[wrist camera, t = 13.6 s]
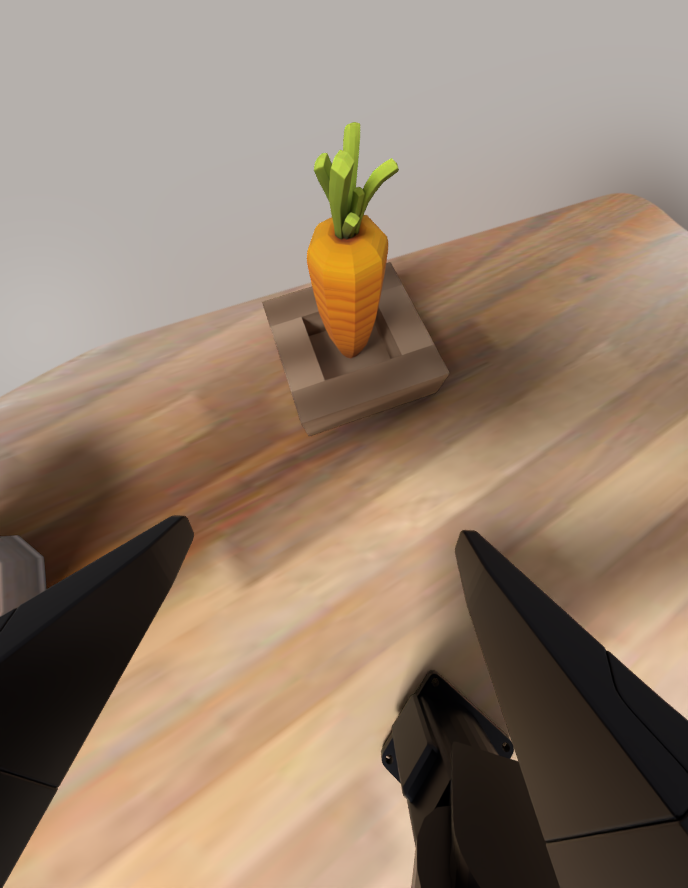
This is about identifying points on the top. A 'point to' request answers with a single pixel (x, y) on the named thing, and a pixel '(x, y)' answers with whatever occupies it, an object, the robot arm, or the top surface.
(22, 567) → the can
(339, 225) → the carrot
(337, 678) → the top surface
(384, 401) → the walnut socket block
